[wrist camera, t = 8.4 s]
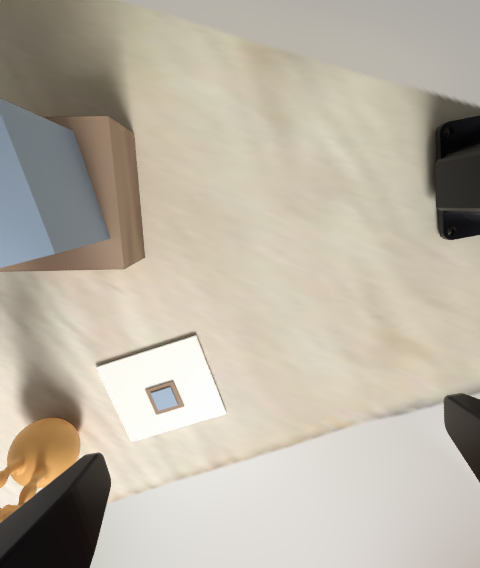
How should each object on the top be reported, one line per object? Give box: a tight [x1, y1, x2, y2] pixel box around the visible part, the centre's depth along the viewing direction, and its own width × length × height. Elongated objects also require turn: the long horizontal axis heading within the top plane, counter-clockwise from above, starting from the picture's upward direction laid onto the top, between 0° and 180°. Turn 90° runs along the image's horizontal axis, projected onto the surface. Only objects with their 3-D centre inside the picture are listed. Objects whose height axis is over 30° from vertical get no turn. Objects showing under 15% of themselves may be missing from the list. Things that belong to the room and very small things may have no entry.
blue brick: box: [0, 98, 110, 268], centre depth 13 cm, size 5×5×5 cm
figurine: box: [0, 418, 80, 523], centre depth 17 cm, size 8×6×12 cm
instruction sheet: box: [96, 335, 226, 442], centre depth 22 cm, size 7×6×1 cm
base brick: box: [0, 116, 145, 272], centre depth 17 cm, size 7×7×4 cm
